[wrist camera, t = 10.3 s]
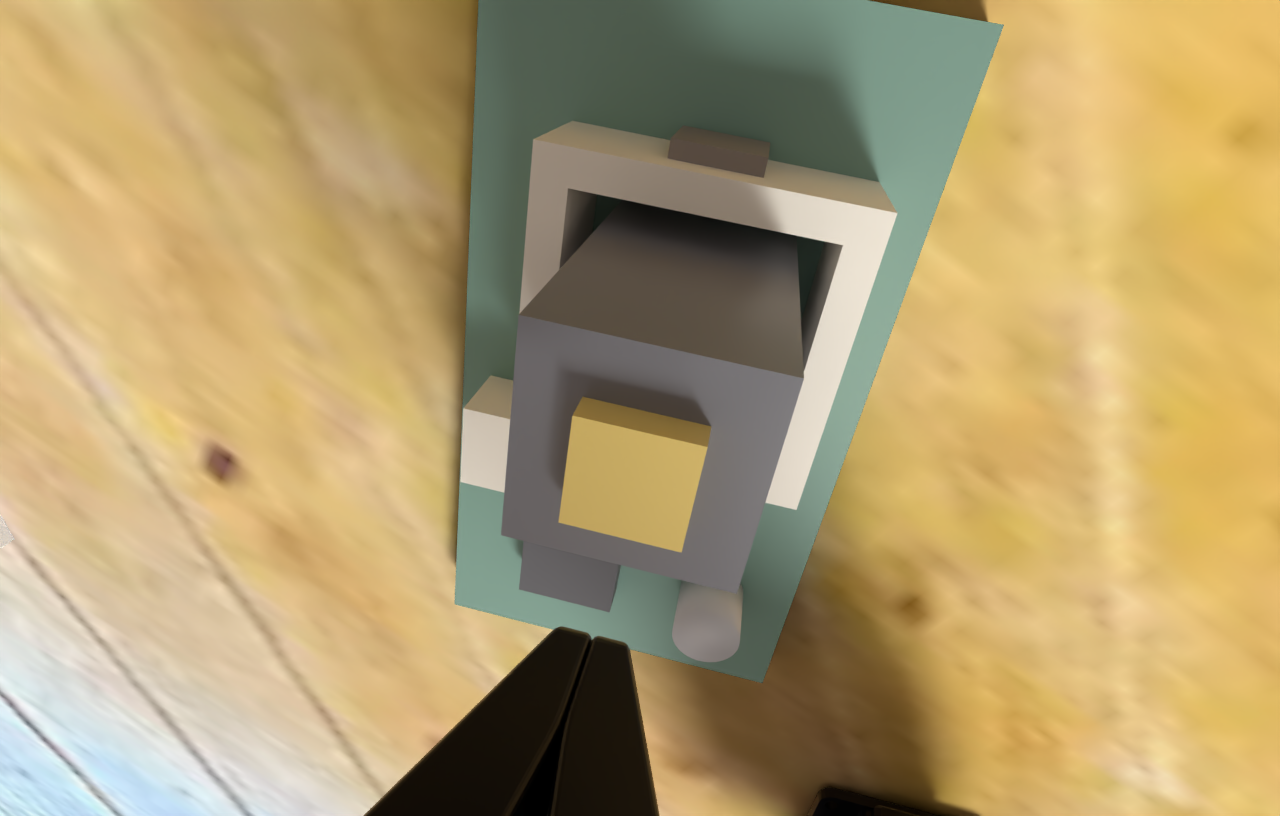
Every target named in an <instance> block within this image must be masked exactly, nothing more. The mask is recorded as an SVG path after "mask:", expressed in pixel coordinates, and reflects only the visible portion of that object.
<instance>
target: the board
mask: <svg viewBox="0 0 1280 816" xmlns="http://www.w3.org/2000/svg"><path fill="white" fill-rule="evenodd" d="M1003 26H1004V25H1001V24H996V23H990V22H985V21H979V20H974V19H968V18H963V17H957V16H952V15H946V14H941V13H935V12H929V11H924V10H918V9H913V8H907V7H902V6H896V5H891V4H885V3H880V2H874V1H869V0H478V26H477V51H476V76H475V102H474V127H473V153H472V178H471V204H470V229H469V255H468V280H467V305H466V331H465V356H464V382H463V407H462V433H461V458H460V484H459V509H458V534H457V560H456V585H455V604H456V605H460V606H464V607H468V608H471V609H475V610H479V611H483V612H487V613H491V614H495V615H499V616H503V617H506V618H510V619H514V620H518V621H522V622H526V623H530V624H534V625H538V626H541V627H545V628H549V629H553V630H554V629H555V628H557V627H560V626H562V627H567V628H571V629H575V630H579V631H583V632H587V633H588V634H589V635H590V636H591V638H592V639H593V638H594V637H596V636H602V637H606V638H610V639H614V640H618V641H622V642H625V643H626V644H627V645H628V647H629V649H631V650H635V651H639V652H643V653H647V654H650V655H654V656H658V657H662V658H666V659H670V660H674V661H678V662H682V663H686V664H689V665H693V666H697V667H701V668H705V669H709V670H713V671H717V672H721V673H724V674H728V675H732V676H736V677H740V678H744V679H748V680H752V681H756V682H759V683H763V680H764V677H765V675H766V672H767V669H768V666H769V664H770V661H771V658H772V656H773V653H774V650H775V647H776V645H777V642H778V639H779V636H780V634H781V631H782V628H783V626H784V623H785V620H786V617H787V615H788V612H789V609H790V606H791V604H792V601H793V598H794V596H795V593H796V590H797V587H798V585H799V582H800V579H801V576H802V574H803V571H804V568H805V566H806V563H807V560H808V557H809V555H810V552H811V549H812V546H813V544H814V541H815V538H816V536H817V533H818V530H819V527H820V525H821V522H822V519H823V517H824V514H825V511H826V508H827V506H828V503H829V500H830V497H831V495H832V492H833V489H834V487H835V484H836V481H837V478H838V476H839V473H840V470H841V467H842V465H843V462H844V459H845V457H846V454H847V451H848V448H849V446H850V443H851V440H852V437H853V435H854V432H855V429H856V427H857V424H858V421H859V418H860V416H861V413H862V410H863V407H864V405H865V402H866V399H867V397H868V394H869V391H870V388H871V386H872V383H873V380H874V377H875V375H876V372H877V369H878V367H879V364H880V361H881V358H882V356H883V353H884V350H885V347H886V345H887V342H888V339H889V337H890V334H891V331H892V328H893V326H894V323H895V320H896V318H897V315H898V312H899V309H900V307H901V304H902V301H903V298H904V296H905V293H906V290H907V288H908V285H909V282H910V279H911V277H912V274H913V271H914V268H915V266H916V263H917V260H918V258H919V255H920V252H921V249H922V247H923V244H924V241H925V238H926V236H927V233H928V230H929V228H930V225H931V222H932V219H933V217H934V214H935V211H936V208H937V206H938V203H939V200H940V198H941V195H942V192H943V189H944V187H945V184H946V181H947V178H948V176H949V173H950V170H951V168H952V165H953V162H954V159H955V157H956V154H957V151H958V148H959V146H960V143H961V140H962V138H963V135H964V132H965V129H966V127H967V124H968V121H969V119H970V116H971V113H972V110H973V108H974V105H975V102H976V99H977V97H978V94H979V91H980V89H981V86H982V83H983V80H984V78H985V75H986V72H987V69H988V67H989V64H990V61H991V59H992V56H993V53H994V50H995V48H996V45H997V42H998V39H999V37H1000V34H1001V31H1002V29H1003ZM622 200H627V201H632V202H637V203H642V204H647V205H651V206H656V207H661V208H666V209H671V210H675V211H680V212H685V213H690V214H695V215H700V216H704V217H709V218H714V219H719V220H724V221H728V222H733V223H738V224H743V225H748V226H753V227H757V228H762V229H767V230H772V231H777V232H782V233H786V234H791V235H796V236H797V254H798V273H799V292H800V311H801V330H802V349H803V369H804V380H803V383H802V387H801V390H800V393H799V396H798V399H797V403H796V406H795V409H794V412H793V415H792V419H791V422H790V425H789V428H788V432H787V435H786V438H785V441H784V444H783V448H782V451H781V454H780V457H779V460H778V464H777V467H776V470H775V473H774V476H773V480H772V483H771V486H770V489H769V492H768V496H767V499H766V502H765V505H764V508H763V512H762V515H761V518H760V521H759V524H758V528H757V531H756V534H755V537H754V540H753V544H752V547H751V550H750V553H749V556H748V560H747V563H746V566H745V569H744V572H743V576H742V579H741V582H740V585H739V588H738V592H737V594H735V593H731V592H727V591H723V590H719V589H715V588H711V587H707V586H703V585H699V584H695V583H691V582H687V581H683V580H679V579H675V578H671V577H667V576H663V575H658V574H654V573H650V572H646V571H642V570H638V569H634V568H630V567H626V566H622V565H618V564H614V563H610V562H606V561H602V560H598V559H594V558H590V557H586V556H582V555H578V554H574V553H570V552H566V551H562V550H558V549H554V548H550V547H546V546H542V545H538V544H534V543H530V542H526V541H522V540H518V539H514V538H510V537H506V536H502V535H501V528H502V515H503V503H504V491H505V478H506V466H507V453H508V441H509V428H510V416H511V403H512V391H513V378H514V366H515V353H516V341H517V328H518V316H519V314H520V313H521V312H522V310H523V309H524V308H525V307H526V306H527V305H528V304H529V303H530V302H531V300H532V299H533V298H534V297H535V296H536V295H537V294H538V293H539V292H540V290H541V289H542V288H543V287H544V286H545V285H546V284H547V283H548V282H549V281H550V279H551V278H552V277H553V276H554V275H555V274H556V273H557V272H558V271H559V269H560V268H561V267H562V266H563V265H564V264H565V263H566V262H567V261H568V260H569V258H570V257H571V256H572V255H573V254H574V253H575V252H576V251H577V250H578V248H579V247H580V246H581V245H582V244H583V243H584V242H585V241H586V240H587V238H588V237H589V236H590V235H591V234H592V233H593V232H594V231H595V230H596V229H597V227H598V226H599V225H600V224H601V223H602V222H603V221H604V220H605V219H606V217H607V216H608V215H609V214H610V213H611V212H612V211H613V210H614V209H615V208H616V206H617V205H618V204H619V203H620V202H621V201H622Z"/></svg>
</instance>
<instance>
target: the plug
mask: <svg viewBox="0 0 1280 816" xmlns="http://www.w3.org/2000/svg"><path fill="white" fill-rule="evenodd" d="M803 380H804V369H803V349H802V330H801V311H800V292H799V273H798V254H797V236H796V235H791V234H786V233H782V232H777V231H772V230H767V229H762V228H757V227H753V226H748V225H743V224H738V223H733V222H728V221H724V220H719V219H714V218H709V217H704V216H700V215H695V214H690V213H685V212H680V211H675V210H671V209H666V208H661V207H656V206H651V205H647V204H642V203H637V202H632V201H627V200H622V201H621V202H620V203H619V204H618V205H617V206H616V208H615V209H614V210H613V211H612V212H611V213H610V214H609V215H608V216H607V217H606V219H605V220H604V221H603V222H602V223H601V224H600V225H599V226H598V227H597V229H596V230H595V231H594V232H593V233H592V234H591V235H590V236H589V237H588V238H587V240H586V241H585V242H584V243H583V244H582V245H581V246H580V247H579V248H578V250H577V251H576V252H575V253H574V254H573V255H572V256H571V257H570V258H569V260H568V261H567V262H566V263H565V264H564V265H563V266H562V267H561V268H560V269H559V271H558V272H557V273H556V274H555V275H554V276H553V277H552V278H551V279H550V281H549V282H548V283H547V284H546V285H545V286H544V287H543V288H542V289H541V290H540V292H539V293H538V294H537V295H536V296H535V297H534V298H533V299H532V300H531V302H530V303H529V304H528V305H527V306H526V307H525V308H524V309H523V310H522V312H521V313H520V314H519V316H518V328H517V341H516V353H515V366H514V378H513V391H512V403H511V416H510V428H509V441H508V453H507V466H506V478H505V491H504V503H503V515H502V528H501V535H502V536H506V537H510V538H514V539H518V540H522V541H526V542H530V543H534V544H538V545H542V546H546V547H550V548H554V549H558V550H562V551H566V552H570V553H574V554H578V555H582V556H586V557H590V558H594V559H598V560H602V561H606V562H610V563H614V564H618V565H622V566H626V567H630V568H634V569H638V570H642V571H646V572H650V573H654V574H658V575H663V576H667V577H671V578H675V579H679V580H683V581H687V582H691V583H695V584H699V585H703V586H707V587H711V588H715V589H719V590H723V591H727V592H731V593H735V594H737V592H738V588H739V585H740V582H741V579H742V576H743V572H744V569H745V566H746V563H747V560H748V556H749V553H750V550H751V547H752V544H753V540H754V537H755V534H756V531H757V528H758V524H759V521H760V518H761V515H762V512H763V508H764V505H765V502H766V499H767V496H768V492H769V489H770V486H771V483H772V480H773V476H774V473H775V470H776V467H777V464H778V460H779V457H780V454H781V451H782V448H783V444H784V441H785V438H786V435H787V432H788V428H789V425H790V422H791V419H792V415H793V412H794V409H795V406H796V403H797V399H798V396H799V393H800V390H801V387H802V383H803Z"/></svg>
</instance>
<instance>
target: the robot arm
mask: <svg viewBox="0 0 1280 816" xmlns="http://www.w3.org/2000/svg"><path fill="white" fill-rule="evenodd" d="M364 816H659V811H658V805H657V799H656V794H655V788H654V782H653V777H652V771H651V766H650V760H649V754H648V749H647V743H646V738H645V732H644V726H643V721H642V715H641V709H640V704H639V698H638V693H637V687H636V681H635V676H634V670H633V665H632V659H631V653H630V649H629V647H628V645H627V644H626V643H625V642H622V641H618V640H614V639H610V638H606V637H602V636H596V637H594V638H593V639H592V638H591V636H590V635H589V634H588V633H587V632H583V631H579V630H575V629H571V628H567V627H562V626H560V627H557V628H555V629H554V630H553V631H552V632H551V633H549V634H548V635H547V636H546V637H545V638H544V639H543V640H542V641H541V642H540V643H539V644H538V645H537V646H536V647H535V648H534V649H533V650H532V651H531V652H530V653H529V654H528V655H527V656H526V657H525V658H524V659H523V660H522V661H521V662H520V663H519V664H518V665H517V666H516V667H515V668H514V669H513V670H512V671H511V672H510V673H509V674H508V675H507V676H506V677H505V678H504V679H503V680H502V681H500V682H499V683H498V684H497V685H496V686H495V687H494V688H493V689H492V690H491V691H490V692H489V693H488V694H487V695H486V696H485V697H484V698H483V699H482V700H481V701H480V702H479V703H478V704H477V705H476V706H475V707H474V708H473V709H472V710H471V711H470V712H469V713H468V714H467V715H466V716H465V717H464V718H463V719H462V720H461V721H460V722H459V723H458V724H457V725H456V726H455V727H454V728H453V729H451V730H450V731H449V732H448V733H447V734H446V735H445V736H444V737H443V738H442V739H441V740H440V741H439V742H438V743H437V744H436V745H435V746H434V747H433V748H432V749H431V750H430V751H429V752H428V753H427V754H426V755H425V756H424V757H423V758H422V759H421V760H420V761H419V762H418V763H417V764H416V765H415V766H414V767H413V768H412V769H411V770H410V771H409V772H408V773H407V774H406V775H405V776H404V777H402V778H401V779H400V780H399V781H398V782H397V783H396V784H395V785H394V786H393V787H392V788H391V789H390V790H389V791H388V792H387V793H386V794H385V795H384V796H383V797H382V798H381V799H380V800H379V801H378V802H377V803H376V804H375V805H374V806H373V807H372V808H371V809H370V810H369V811H368V812H367V813H366V814H365V815H364ZM807 816H937V815H934V814H930V813H926V812H922V811H919V810H915V809H911V808H907V807H904V806H900V805H896V804H892V803H889V802H885V801H881V800H877V799H874V798H870V797H866V796H862V795H859V794H855V793H851V792H847V791H844V790H840V789H836V788H824V789H821V790H820V791H819V792H818V795H817V797H816V799H815V801H814V803H813V805H812V807H811V809H810V811H809V813H808V815H807Z"/></svg>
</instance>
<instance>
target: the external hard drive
mask: <svg viewBox="0 0 1280 816" xmlns="http://www.w3.org/2000/svg"><path fill="white" fill-rule="evenodd" d="M12 540H14V537H13V536H12V534H11V532H10V530H9V528H8V527H7V525H6V523H5V521H4V519H3V518H2V516H1V514H0V548H2V547H4V546H5V545H6V544H8V543H9V542H11V541H12Z"/></svg>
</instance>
